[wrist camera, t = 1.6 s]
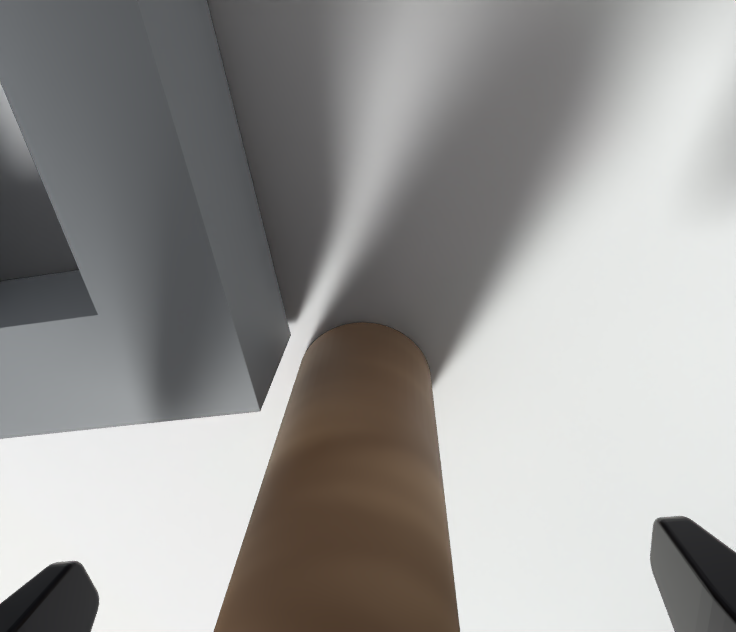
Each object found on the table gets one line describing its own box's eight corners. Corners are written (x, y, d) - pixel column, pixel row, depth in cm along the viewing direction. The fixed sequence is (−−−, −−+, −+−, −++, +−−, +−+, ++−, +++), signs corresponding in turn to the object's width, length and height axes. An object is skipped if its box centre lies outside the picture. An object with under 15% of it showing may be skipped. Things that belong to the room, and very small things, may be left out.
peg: (423, 314, 12) (465, 708, 4) (437, 428, 13) (489, 874, 6) (285, 331, 12) (119, 721, 5) (313, 440, 13) (217, 875, 6)
